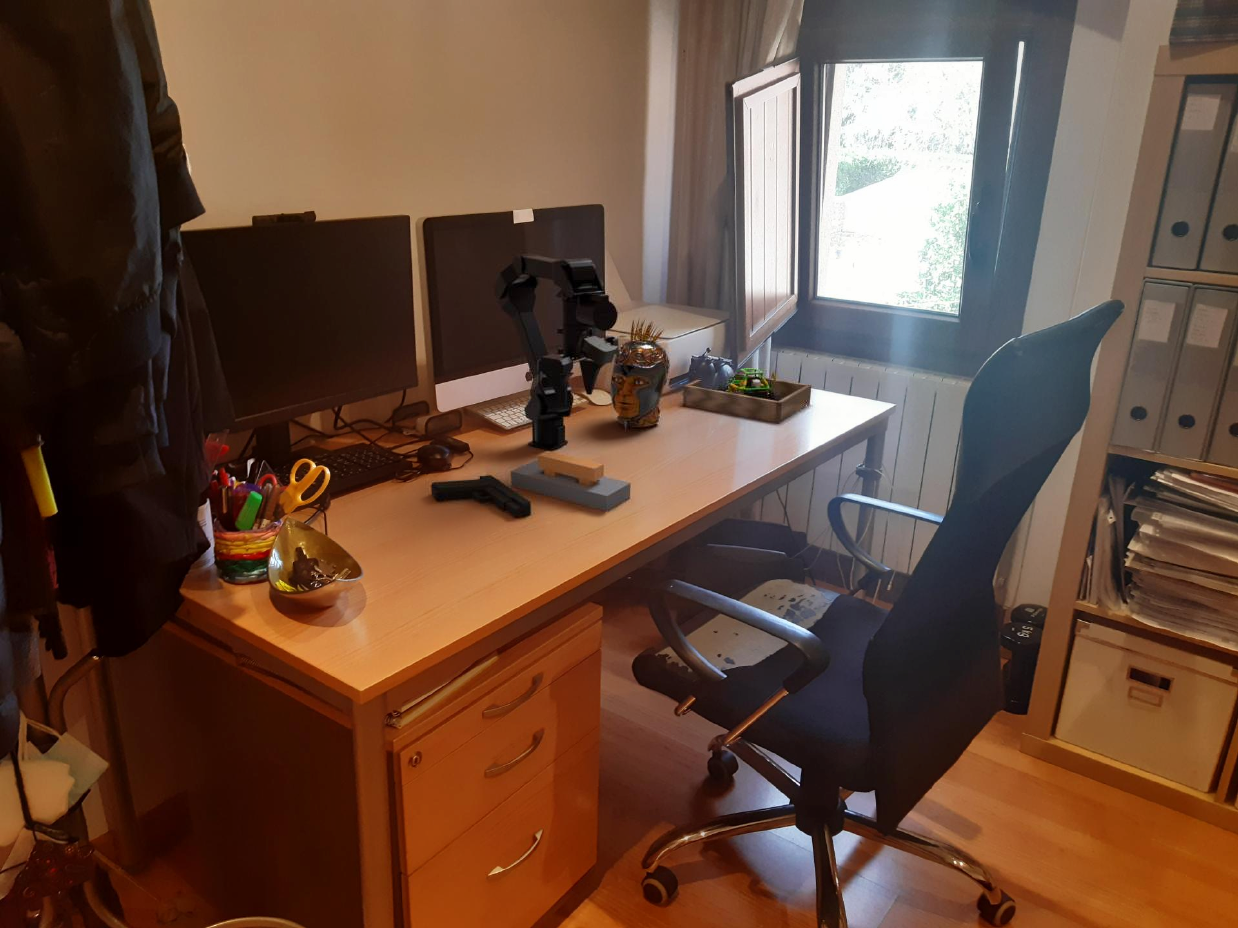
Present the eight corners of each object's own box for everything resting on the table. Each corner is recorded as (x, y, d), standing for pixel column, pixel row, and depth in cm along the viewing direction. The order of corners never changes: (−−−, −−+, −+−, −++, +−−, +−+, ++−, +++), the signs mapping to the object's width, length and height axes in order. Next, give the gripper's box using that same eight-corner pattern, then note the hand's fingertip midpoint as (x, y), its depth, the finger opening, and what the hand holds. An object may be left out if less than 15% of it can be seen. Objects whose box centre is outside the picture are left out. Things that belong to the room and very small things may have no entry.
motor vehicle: (755, 393, 241) (758, 354, 238) (784, 414, 224) (787, 372, 220) (714, 395, 239) (716, 356, 235) (739, 417, 221) (742, 374, 217)
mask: (596, 432, 208) (597, 323, 200) (631, 408, 227) (633, 308, 218) (647, 439, 204) (650, 329, 195) (678, 415, 222) (682, 313, 214)
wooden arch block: (538, 486, 175) (537, 455, 173) (547, 482, 178) (547, 450, 176) (594, 501, 169) (594, 468, 167) (603, 496, 171) (603, 464, 169)
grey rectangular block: (511, 485, 176) (510, 471, 175) (536, 473, 182) (536, 459, 181) (606, 511, 165) (607, 496, 164) (630, 497, 171) (630, 482, 170)
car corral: (683, 404, 231) (683, 385, 229) (718, 388, 247) (719, 370, 245) (778, 423, 218) (780, 402, 216) (809, 404, 234) (811, 385, 232)
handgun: (470, 516, 155) (532, 502, 161) (426, 482, 170) (484, 470, 176) (471, 532, 156) (533, 518, 162) (426, 496, 171) (484, 484, 177)
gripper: (582, 335, 170) (583, 415, 175) (635, 320, 185) (634, 395, 190) (535, 328, 175) (536, 407, 180) (589, 315, 190) (589, 387, 195)
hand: (576, 399), depth 186 cm, fingers open, 9 cm apart
